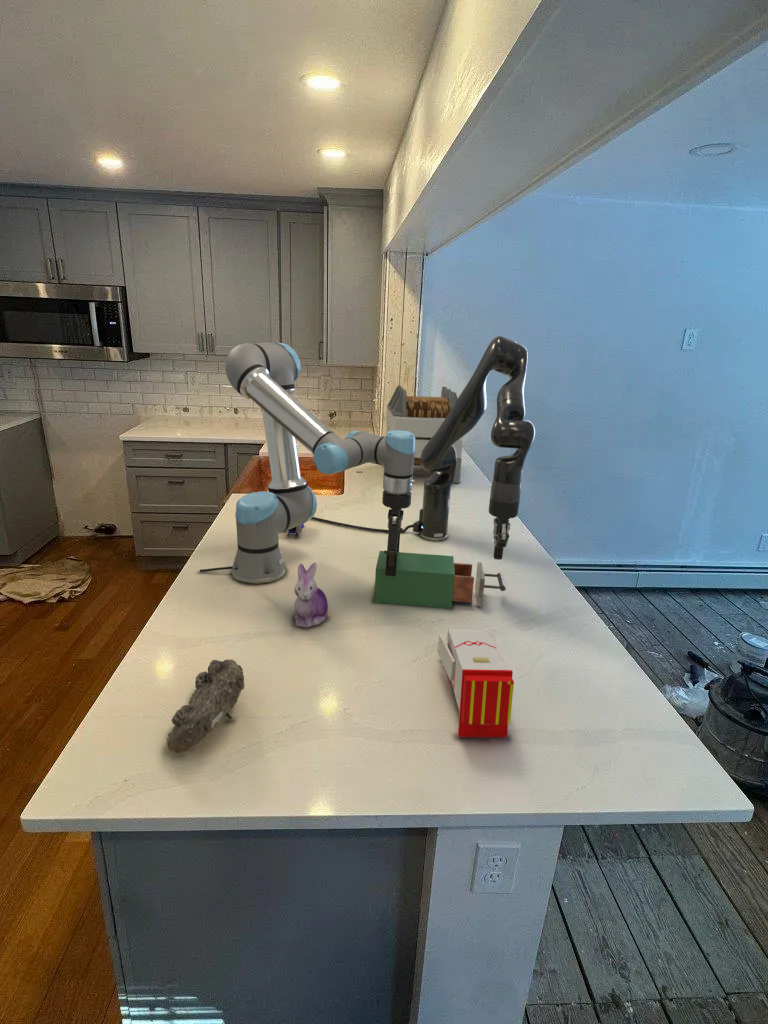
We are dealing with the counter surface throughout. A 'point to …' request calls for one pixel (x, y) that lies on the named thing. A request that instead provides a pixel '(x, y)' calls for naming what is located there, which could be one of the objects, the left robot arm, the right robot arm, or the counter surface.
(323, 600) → the figurine
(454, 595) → the drawer
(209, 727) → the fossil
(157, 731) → the counter surface
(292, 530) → the figurine character
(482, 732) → the toy
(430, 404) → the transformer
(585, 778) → the counter surface
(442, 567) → the cabinet
